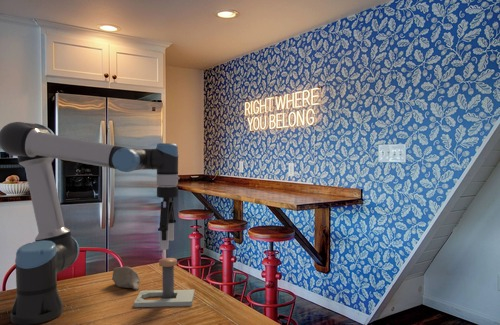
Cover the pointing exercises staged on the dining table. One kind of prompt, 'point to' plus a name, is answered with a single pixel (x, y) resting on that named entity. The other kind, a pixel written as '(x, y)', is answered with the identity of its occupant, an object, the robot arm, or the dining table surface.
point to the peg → (168, 276)
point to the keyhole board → (181, 299)
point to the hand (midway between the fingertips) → (167, 244)
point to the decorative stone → (125, 277)
